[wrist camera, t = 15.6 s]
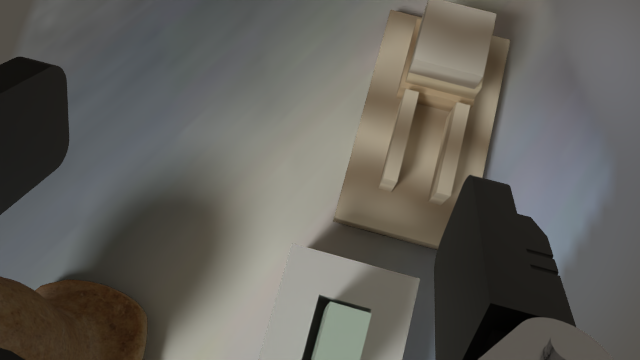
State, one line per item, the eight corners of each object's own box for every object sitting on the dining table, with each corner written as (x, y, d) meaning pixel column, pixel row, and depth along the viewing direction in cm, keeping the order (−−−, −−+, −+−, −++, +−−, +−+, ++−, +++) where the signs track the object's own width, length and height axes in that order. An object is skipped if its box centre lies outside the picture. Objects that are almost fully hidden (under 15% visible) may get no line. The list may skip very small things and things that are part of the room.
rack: (461, 256, 41) (479, 247, 37) (333, 221, 42) (336, 208, 38) (504, 48, 46) (524, 19, 42) (388, 19, 47) (396, -13, 42)
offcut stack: (465, 116, 43) (490, 82, 37) (395, 97, 43) (409, 62, 37) (480, 49, 44) (506, 7, 39) (412, 32, 45) (428, -13, 39)
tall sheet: (331, 390, 38) (343, 425, 24) (303, 382, 38) (300, 412, 24) (349, 318, 39) (371, 313, 26) (322, 310, 39) (330, 301, 26)
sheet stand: (359, 460, 38) (372, 493, 30) (247, 426, 38) (231, 451, 30) (399, 288, 41) (420, 278, 33) (295, 259, 41) (292, 243, 33)
